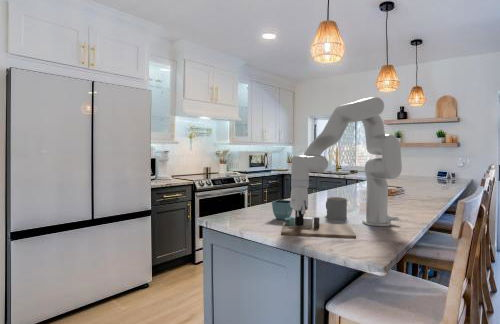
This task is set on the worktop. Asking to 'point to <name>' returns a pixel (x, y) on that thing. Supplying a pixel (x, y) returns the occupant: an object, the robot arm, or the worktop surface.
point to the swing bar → (306, 221)
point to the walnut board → (318, 230)
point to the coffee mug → (336, 208)
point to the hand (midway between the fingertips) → (299, 225)
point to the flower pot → (282, 209)
